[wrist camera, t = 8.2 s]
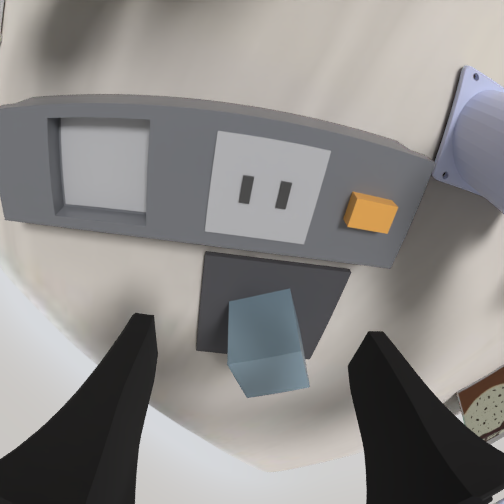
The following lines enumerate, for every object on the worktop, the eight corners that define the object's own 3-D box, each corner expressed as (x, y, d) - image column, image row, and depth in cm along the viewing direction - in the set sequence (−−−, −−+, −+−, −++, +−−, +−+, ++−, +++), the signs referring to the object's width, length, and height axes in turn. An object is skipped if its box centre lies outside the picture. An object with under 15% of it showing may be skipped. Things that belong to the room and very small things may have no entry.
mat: (349, 268, 22) (351, 272, 21) (309, 355, 27) (309, 359, 27) (205, 251, 21) (205, 254, 20) (196, 346, 26) (196, 350, 26)
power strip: (410, 145, 17) (443, 168, 14) (374, 241, 21) (395, 276, 17) (20, 98, 14) (-18, 113, 11) (28, 198, 18) (-2, 226, 14)
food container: (447, 408, 40) (464, 458, 32) (447, 396, 37) (467, 451, 29) (507, 374, 37) (528, 420, 29) (512, 358, 34) (537, 408, 25)
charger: (289, 288, 22) (300, 351, 18) (299, 329, 25) (310, 387, 20) (229, 301, 23) (227, 364, 18) (246, 340, 25) (247, 398, 21)
